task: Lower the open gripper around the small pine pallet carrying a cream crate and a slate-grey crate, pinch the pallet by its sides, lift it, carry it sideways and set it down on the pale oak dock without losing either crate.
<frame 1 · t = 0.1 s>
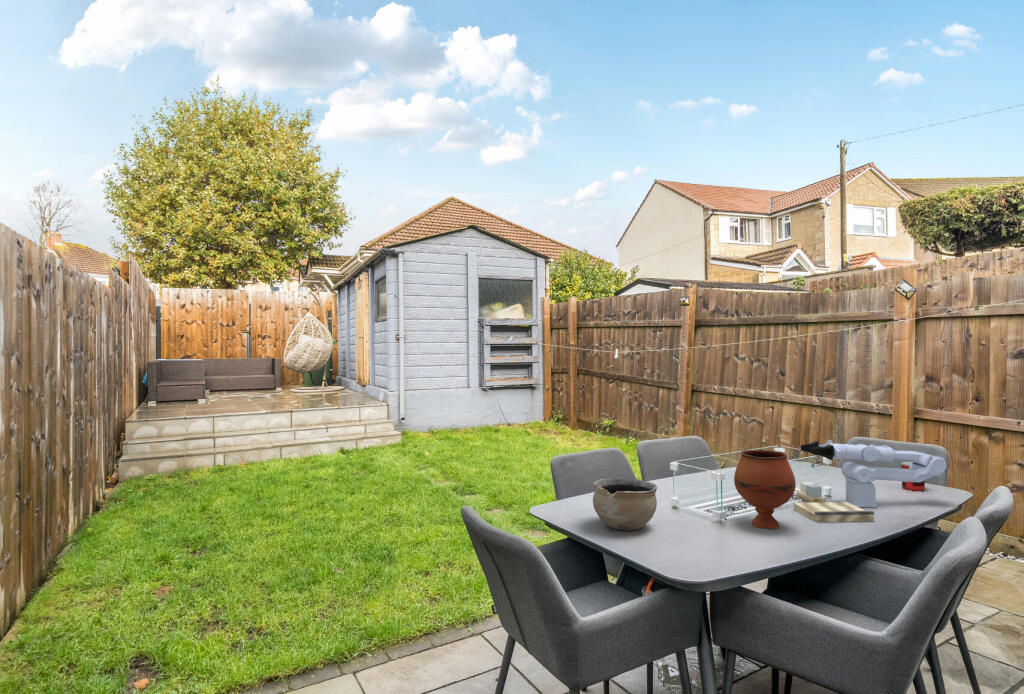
hand: (806, 449, 214), 22 cm above the table, tool horizontal, fingers open, 7 cm apart
canned food: (913, 489, 235), on the table
ceramic bowl: (625, 527, 192), on the table
cream crate: (808, 493, 221), point 3 cm above the table
goblet: (765, 525, 191), on the table
slate crate: (813, 496, 217), point 3 cm above the table, touching pallet
pallet: (811, 502, 219), on the table, touching slate crate
dock: (832, 515, 201), on the table
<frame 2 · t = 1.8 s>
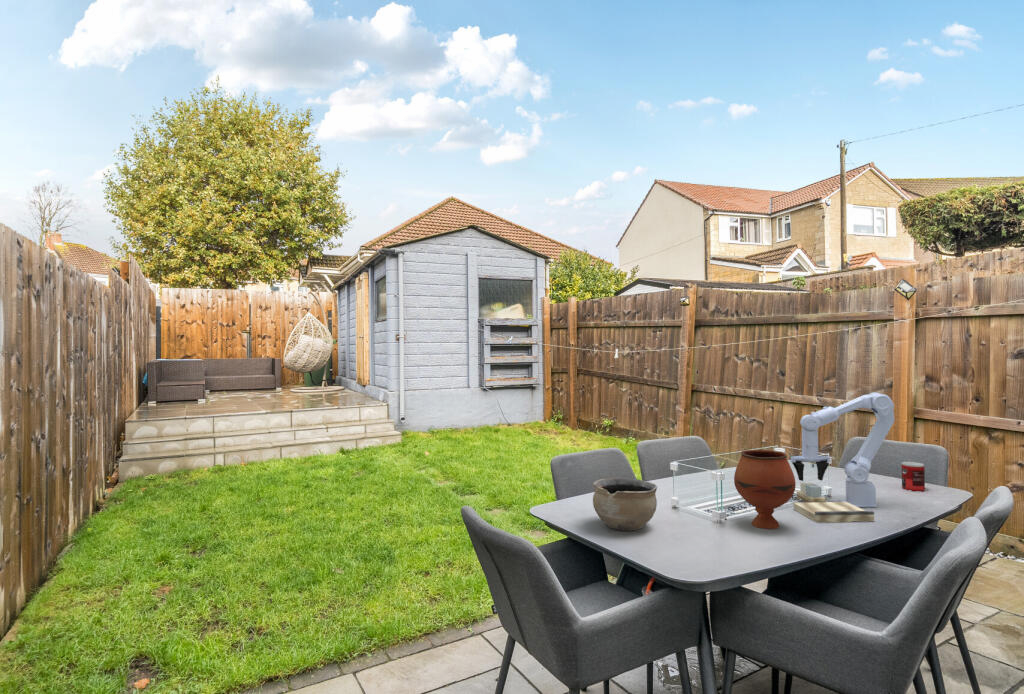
hand: (810, 480, 219), 9 cm above the table, tool pointing down, fingers open, 7 cm apart
cream crate: (808, 493, 221), point 3 cm above the table, touching slate crate
slate crate: (813, 496, 217), point 3 cm above the table, touching cream crate, pallet
everything else where it was.
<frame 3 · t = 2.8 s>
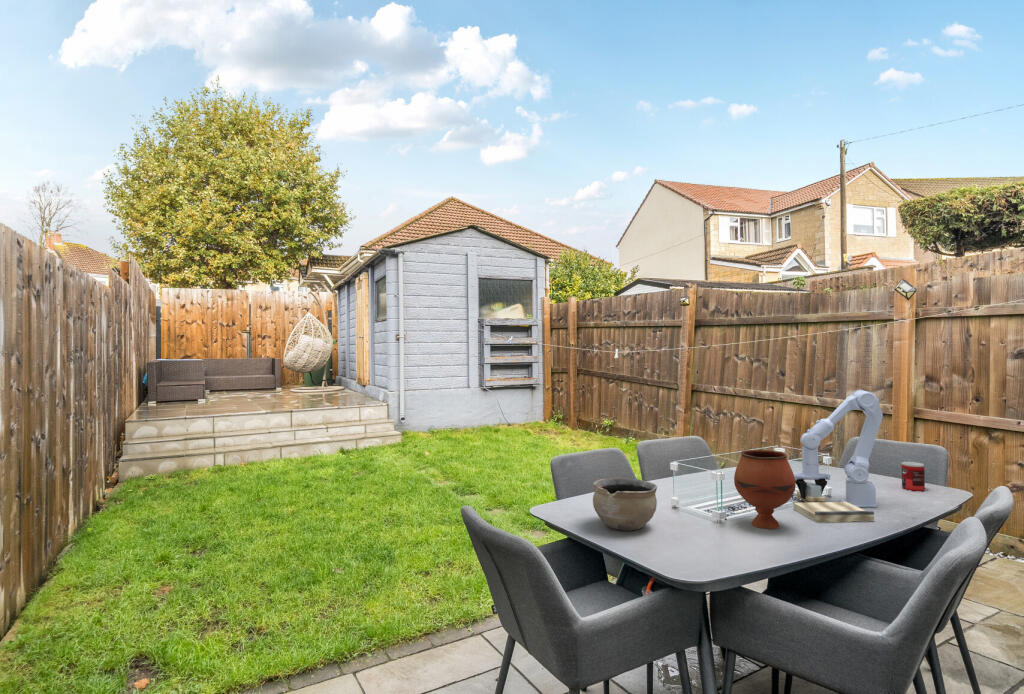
hand: (810, 498, 219), 1 cm above the table, tool pointing down, fingers closed on pallet, 5 cm apart
pallet: (811, 502, 219), on the table, touching gripper, slate crate
everything else where it was.
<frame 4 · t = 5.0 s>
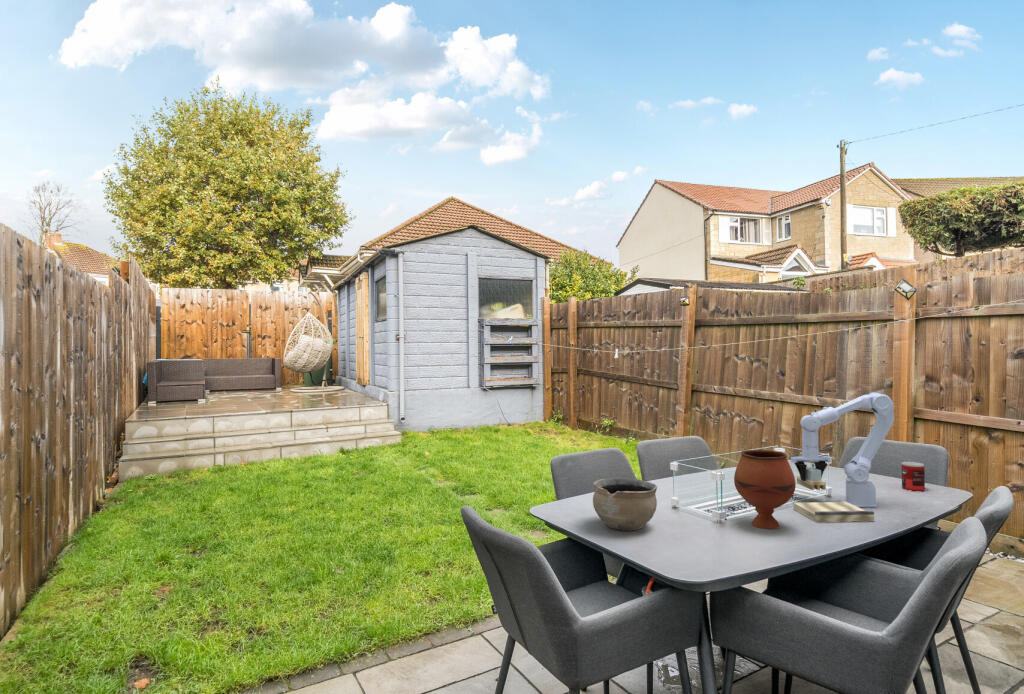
hand: (810, 480, 219), 8 cm above the table, tool pointing down, fingers closed on pallet, 5 cm apart
cream crate: (807, 477, 221), point 9 cm above the table, touching pallet
slate crate: (813, 479, 217), point 9 cm above the table, touching pallet
pallet: (810, 486, 219), point 6 cm above the table, touching cream crate, gripper, slate crate
everything else where it was.
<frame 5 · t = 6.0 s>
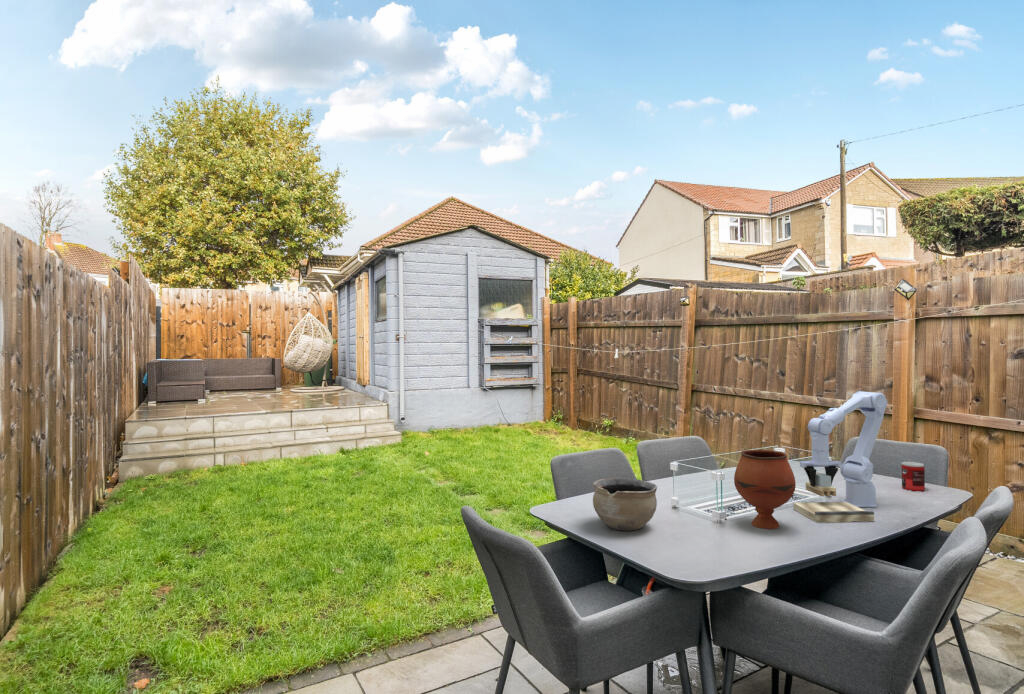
hand: (820, 486, 210), 8 cm above the table, tool pointing down, fingers closed on pallet, 5 cm apart
cream crate: (817, 483, 213), point 9 cm above the table, touching pallet
slate crate: (822, 485, 209), point 9 cm above the table, touching pallet
pallet: (820, 492, 210), point 6 cm above the table, touching cream crate, gripper, slate crate
everything else where it was.
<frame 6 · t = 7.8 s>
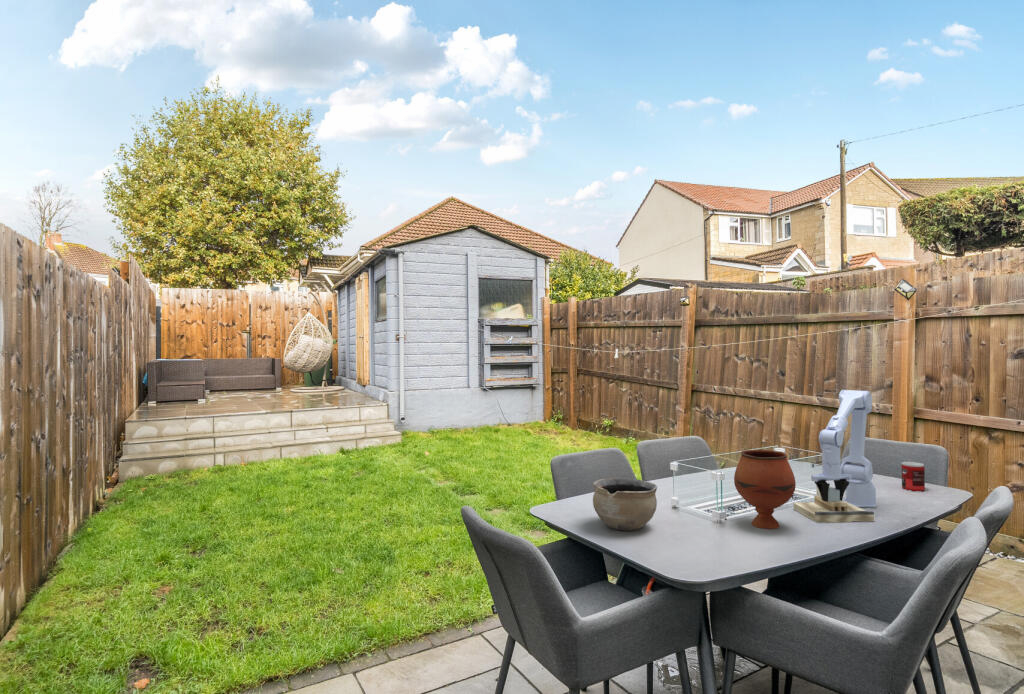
hand: (831, 500, 201), 5 cm above the table, tool pointing down, fingers open, 5 cm apart
cream crate: (824, 497, 205), point 6 cm above the table, touching pallet
slate crate: (831, 499, 201), point 6 cm above the table, touching pallet
pallet: (830, 507, 203), point 3 cm above the table, touching cream crate, dock, gripper, slate crate
everything else where it was.
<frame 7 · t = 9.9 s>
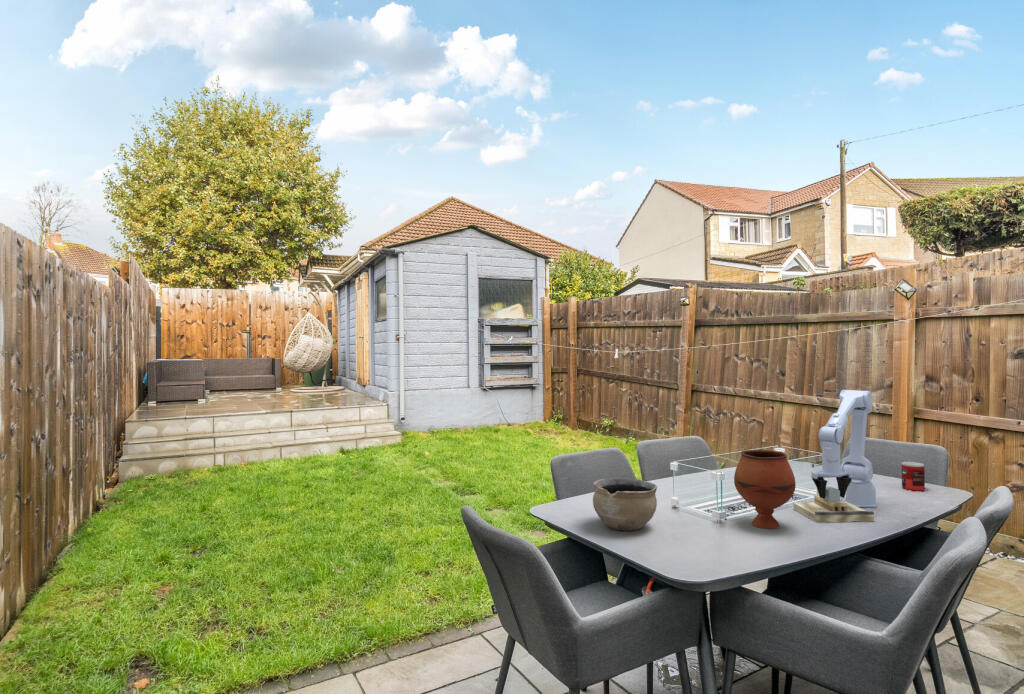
hand: (832, 497, 201), 6 cm above the table, tool pointing down, fingers open, 7 cm apart
pallet: (830, 507, 203), point 2 cm above the table, touching cream crate, dock, slate crate
everything else where it was.
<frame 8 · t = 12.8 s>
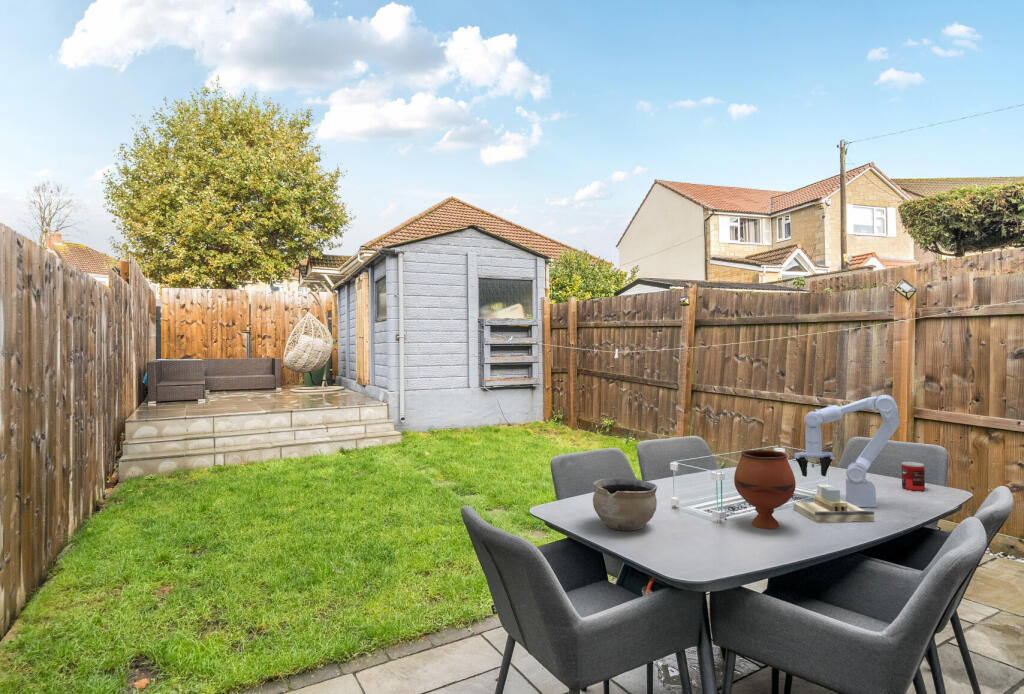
hand: (814, 475, 222), 9 cm above the table, tool pointing down, fingers open, 7 cm apart
nothing on the table moved.
at the end: pallet inside the target area on the dock (1.5 cm from its centre), point 2.5 cm above the dock's base; cream crate point 5.5 cm above the table; slate crate point 5.5 cm above the table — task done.
